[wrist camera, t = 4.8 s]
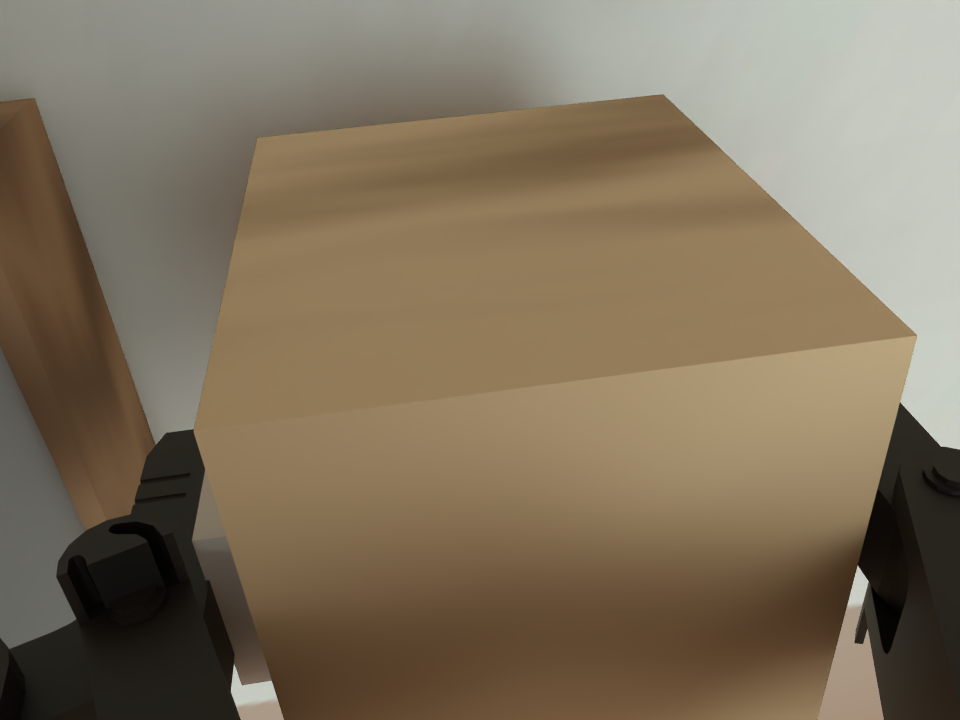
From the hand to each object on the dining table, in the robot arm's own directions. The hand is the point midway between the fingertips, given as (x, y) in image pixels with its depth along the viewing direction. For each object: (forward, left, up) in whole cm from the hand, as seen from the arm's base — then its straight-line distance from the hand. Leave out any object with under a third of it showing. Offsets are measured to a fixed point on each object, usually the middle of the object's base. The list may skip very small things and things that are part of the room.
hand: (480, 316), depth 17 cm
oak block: (0, 0, 0) cm, 0 cm away
